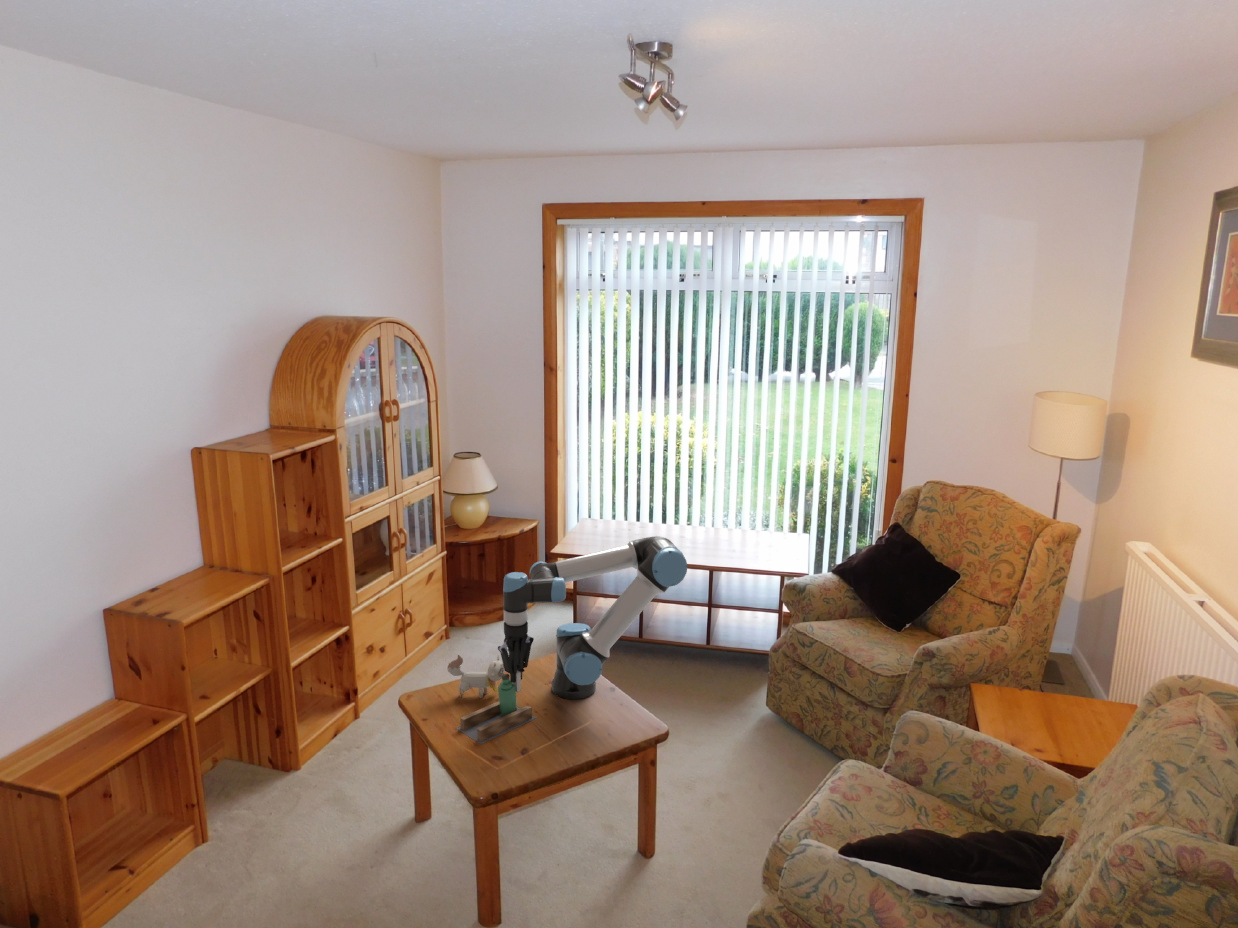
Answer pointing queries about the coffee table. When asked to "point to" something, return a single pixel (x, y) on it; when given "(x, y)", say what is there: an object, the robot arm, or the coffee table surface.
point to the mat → (473, 730)
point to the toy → (477, 676)
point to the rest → (495, 725)
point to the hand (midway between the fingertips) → (516, 690)
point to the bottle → (507, 696)
